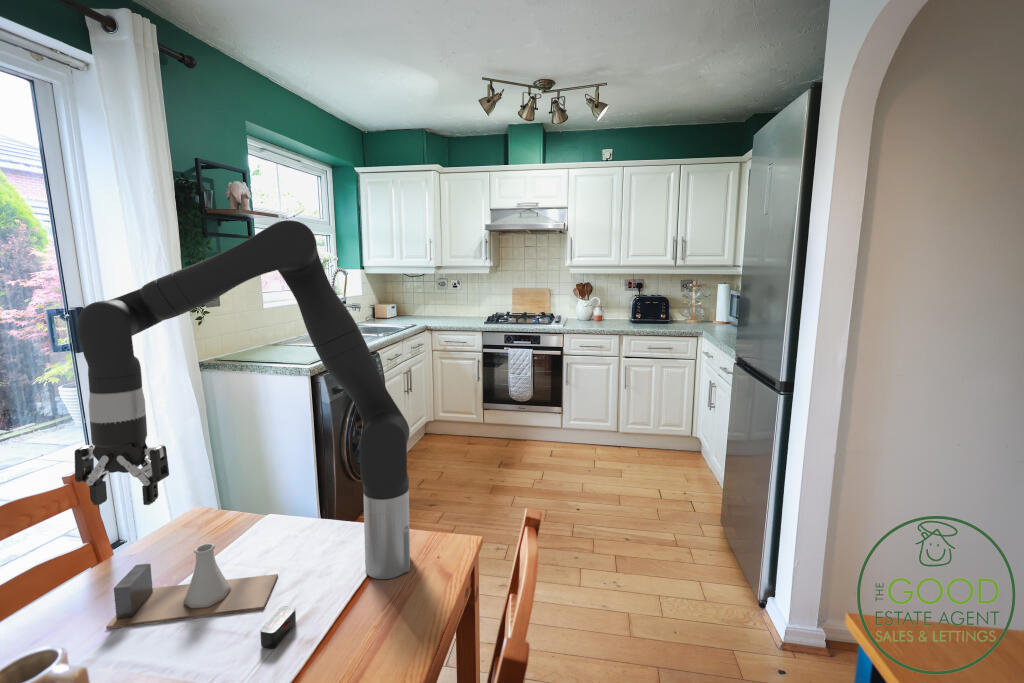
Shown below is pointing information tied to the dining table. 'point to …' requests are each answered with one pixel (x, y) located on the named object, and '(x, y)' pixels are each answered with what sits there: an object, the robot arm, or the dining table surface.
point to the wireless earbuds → (278, 627)
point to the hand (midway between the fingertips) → (125, 503)
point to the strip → (181, 599)
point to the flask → (206, 580)
